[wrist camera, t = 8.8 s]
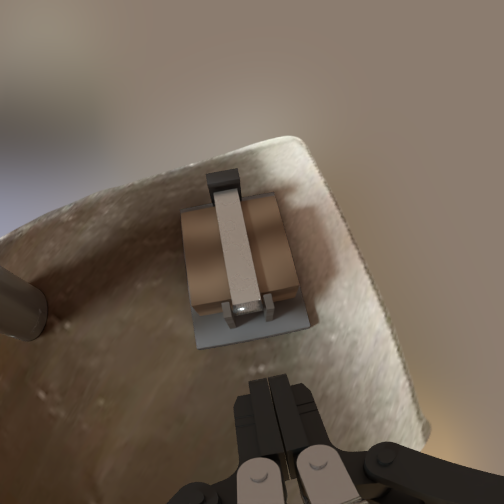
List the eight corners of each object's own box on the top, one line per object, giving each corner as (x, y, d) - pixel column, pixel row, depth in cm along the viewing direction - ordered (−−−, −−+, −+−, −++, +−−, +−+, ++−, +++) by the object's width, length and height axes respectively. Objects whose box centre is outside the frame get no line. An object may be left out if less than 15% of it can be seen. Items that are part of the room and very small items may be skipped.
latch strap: (263, 311, 32) (263, 308, 31) (235, 317, 32) (234, 314, 31) (237, 192, 39) (236, 186, 38) (214, 196, 38) (212, 191, 37)
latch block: (308, 328, 38) (321, 312, 30) (199, 349, 37) (182, 340, 29) (273, 197, 46) (275, 159, 38) (182, 215, 45) (167, 179, 37)
